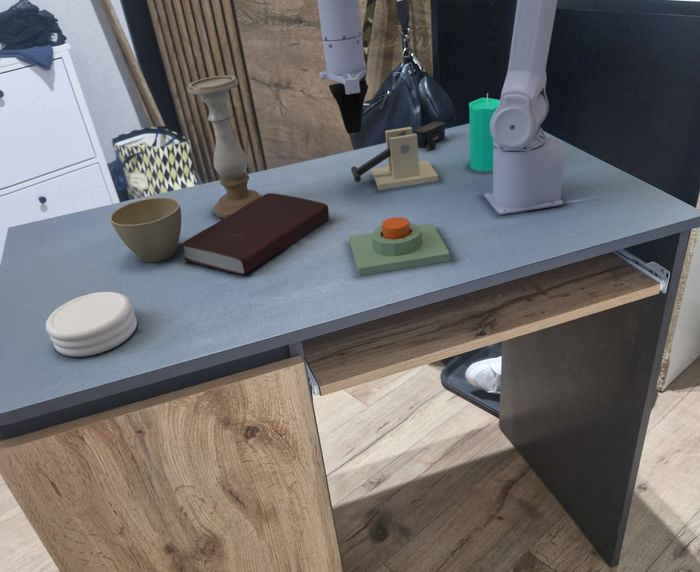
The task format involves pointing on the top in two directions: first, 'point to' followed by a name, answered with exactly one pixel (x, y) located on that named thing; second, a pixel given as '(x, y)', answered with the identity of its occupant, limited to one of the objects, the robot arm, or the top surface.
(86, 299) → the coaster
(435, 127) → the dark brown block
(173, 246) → the flower pot
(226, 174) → the candle holder
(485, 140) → the candle
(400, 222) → the button
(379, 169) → the stand
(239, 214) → the book
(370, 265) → the panel
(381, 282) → the top surface
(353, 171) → the lever
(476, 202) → the top surface
